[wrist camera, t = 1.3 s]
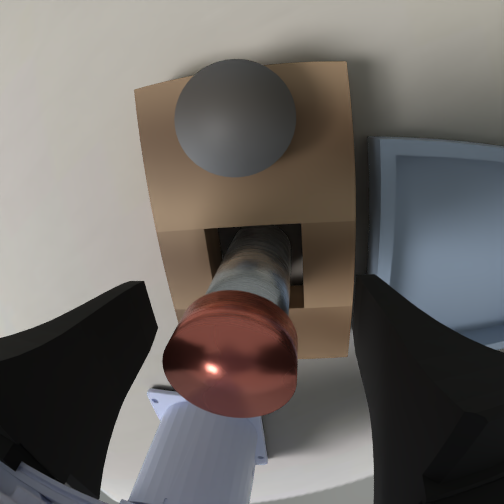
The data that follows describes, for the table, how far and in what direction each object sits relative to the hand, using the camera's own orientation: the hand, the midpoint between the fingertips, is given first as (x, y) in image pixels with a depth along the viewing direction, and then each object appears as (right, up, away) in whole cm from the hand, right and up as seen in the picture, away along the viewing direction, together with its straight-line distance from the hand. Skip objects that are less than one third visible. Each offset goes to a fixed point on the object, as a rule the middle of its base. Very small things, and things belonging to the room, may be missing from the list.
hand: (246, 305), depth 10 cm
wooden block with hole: (0, +4, +4) cm, 5 cm away
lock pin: (+1, +2, +4) cm, 5 cm away
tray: (+11, +2, +3) cm, 12 cm away
